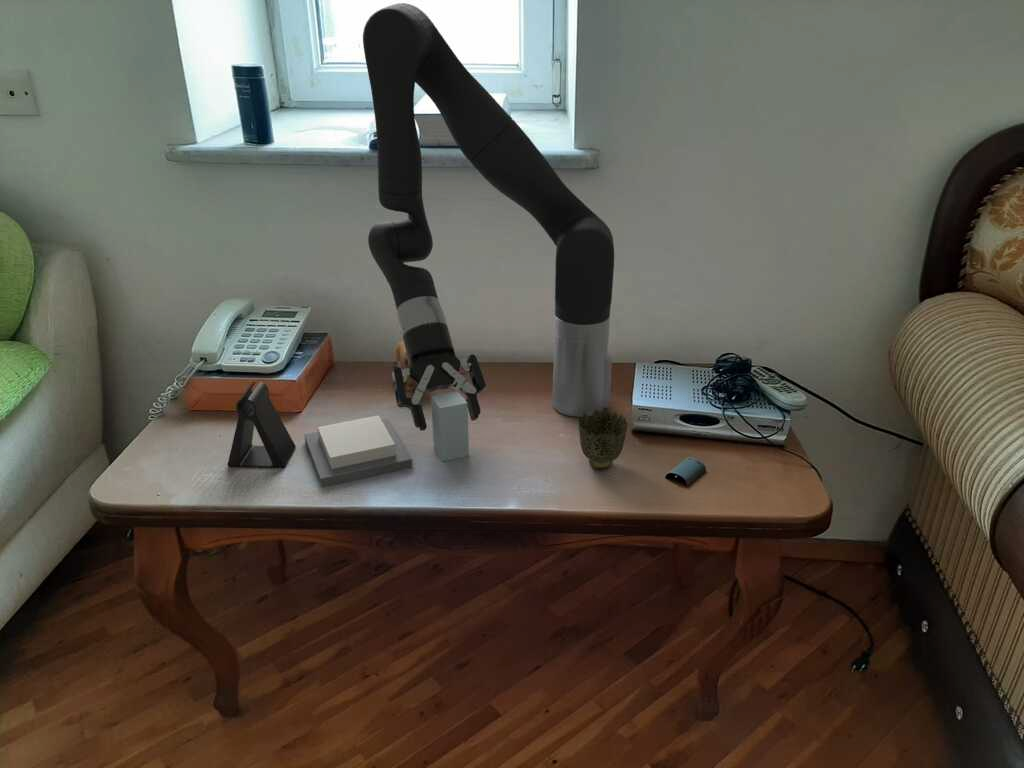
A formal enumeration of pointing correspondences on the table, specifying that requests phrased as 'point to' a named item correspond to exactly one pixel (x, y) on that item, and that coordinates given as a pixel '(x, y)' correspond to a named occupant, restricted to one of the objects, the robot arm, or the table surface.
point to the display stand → (356, 450)
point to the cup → (602, 437)
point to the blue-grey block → (450, 425)
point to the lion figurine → (403, 362)
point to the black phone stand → (259, 432)
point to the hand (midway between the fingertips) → (449, 424)
